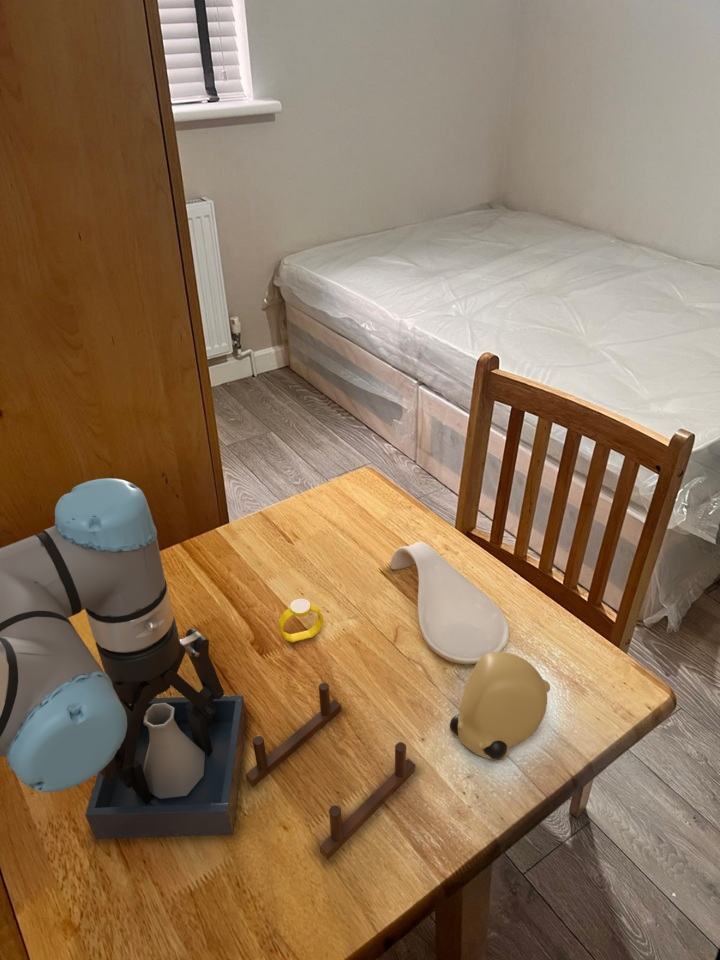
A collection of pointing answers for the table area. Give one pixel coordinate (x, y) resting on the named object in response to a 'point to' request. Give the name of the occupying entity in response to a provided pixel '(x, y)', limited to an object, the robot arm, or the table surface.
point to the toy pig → (500, 705)
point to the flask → (170, 755)
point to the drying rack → (338, 829)
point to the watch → (300, 609)
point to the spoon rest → (452, 608)
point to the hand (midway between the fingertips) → (173, 769)
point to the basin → (190, 815)
